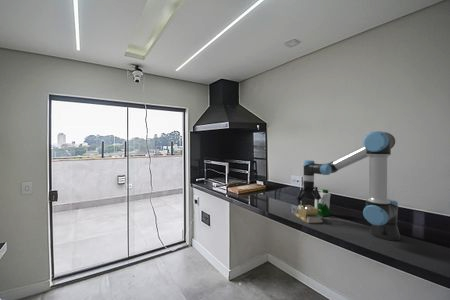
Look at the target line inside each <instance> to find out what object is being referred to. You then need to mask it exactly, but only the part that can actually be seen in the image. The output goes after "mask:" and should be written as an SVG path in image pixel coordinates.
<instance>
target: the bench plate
mask: <svg viewBox="0 0 450 300" xmlns="http://www.w3.org/2000/svg"><path fill="white" fill-rule="evenodd" d="M293 215H294V216H296V217H297V219H300V220H302V221H304V222H305V223H306V224H318V223H319V224H320V223H323V222H324V221H323V219H322V221H308V220H307V219H305V218H303V217H301V216H300V215H298V214H296V213H295V212H293Z"/></svg>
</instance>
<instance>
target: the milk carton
mask: <svg viewBox="0 0 450 300" xmlns="http://www.w3.org/2000/svg"><path fill="white" fill-rule="evenodd" d="M318 192H319V194H320V196H321V199H320V200H319V203H318V208H317V209H318V216H321V217H323V218H324V217H330V214H331V213H330V205H331V204H330V201H331V193H330V192H329V190H328V189H322V191H318Z"/></svg>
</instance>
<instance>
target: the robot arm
mask: <svg viewBox="0 0 450 300" xmlns="http://www.w3.org/2000/svg"><path fill="white" fill-rule="evenodd" d="M362 141H363V146H360V147H359V148H356V149H354V150H352V151H351V152H348V153H346V154H344V155H343V156H340V157H338V158H336V159H334V160H332V161H331V162H328V163H327V162H326V163H315V161H314V160H313V159H311V160H309V159H307V160H304V161H303V181H302V184H303V187H302V186H299V189H298V192H297V194H296V196H295V200H297V205H298V206H299V209H302V205H303V204H302V203H303V201H302V200H303V199H304V197H305V195H306V194H312V196H313V197H314V207H315V208H318V203H319V200H320V199H321V196H320V194H319V192H320V191H319V189H318V188H319V187H318V186H315V182H314V181H315V174H317V175H323V176H330V175H331V174H334V173H337V172H338V171H339V170H342V169H344V168H346V167H348V166H351V165H352V164H355V163H357V162H359V161H362V160H363V159H367V158H368V162H369V163H368V196H367V198H366V199H365V207H364V208H363V210H362V215H363V217H364V219H365V220H366V222H368V223H369V224H371V225H370V228H369V233H370V234H371V235H372V236H374V237H377V238H379V239H381V240H386V241H399V240H401V234H400V230H399V228H398V214H399V211H398V210H399V202H398V201H397V200H393V199H388V157H390V156H391V155H392V154H391V153H392V152H391V150H392V149H393V148H394V146H396V145H395V144H396V138H395V136H394V135H393V134H391V133H390V132H385V131H378V130H377V131H371V132H369V133H368V134H367V135H365V137H364V138H363V140H362Z"/></svg>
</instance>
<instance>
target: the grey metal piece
mask: <svg viewBox="0 0 450 300" xmlns="http://www.w3.org/2000/svg"><path fill="white" fill-rule="evenodd" d="M304 208H305V209H311V207H307V206H306V207H305V206H304ZM294 213H296V214H298V208H297V209H294ZM307 220H308V221H322V220H323V219H322V216H320V215H318V216H307Z"/></svg>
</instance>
